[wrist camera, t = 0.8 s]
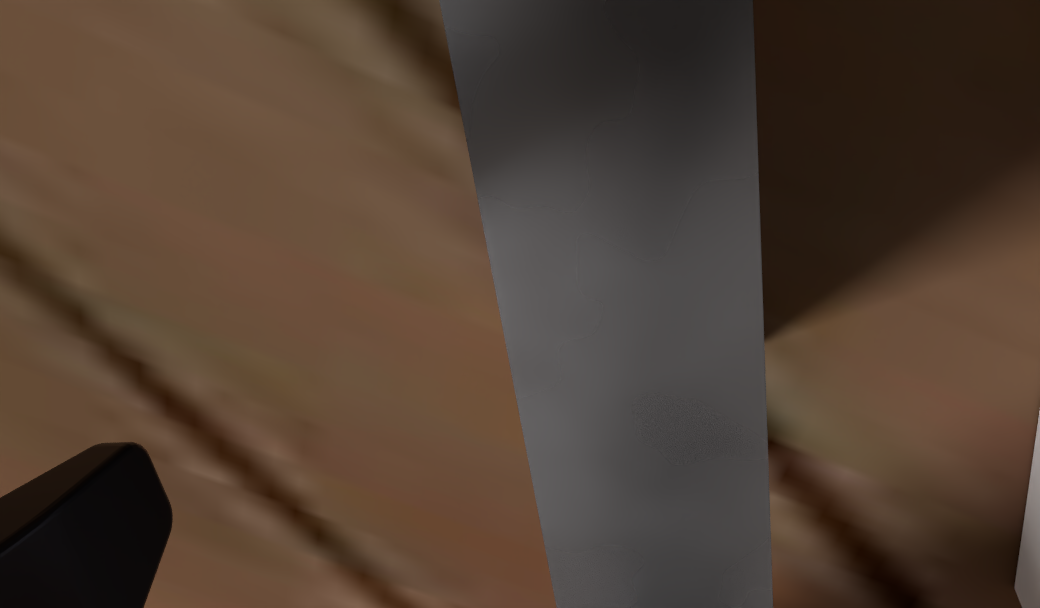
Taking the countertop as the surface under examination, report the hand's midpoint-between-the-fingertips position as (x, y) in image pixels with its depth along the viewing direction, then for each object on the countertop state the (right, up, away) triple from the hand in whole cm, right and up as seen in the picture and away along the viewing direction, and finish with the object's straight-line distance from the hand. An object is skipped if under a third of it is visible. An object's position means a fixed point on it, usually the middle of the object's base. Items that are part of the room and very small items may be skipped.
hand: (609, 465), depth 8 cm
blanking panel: (+2, +6, +9) cm, 11 cm away
